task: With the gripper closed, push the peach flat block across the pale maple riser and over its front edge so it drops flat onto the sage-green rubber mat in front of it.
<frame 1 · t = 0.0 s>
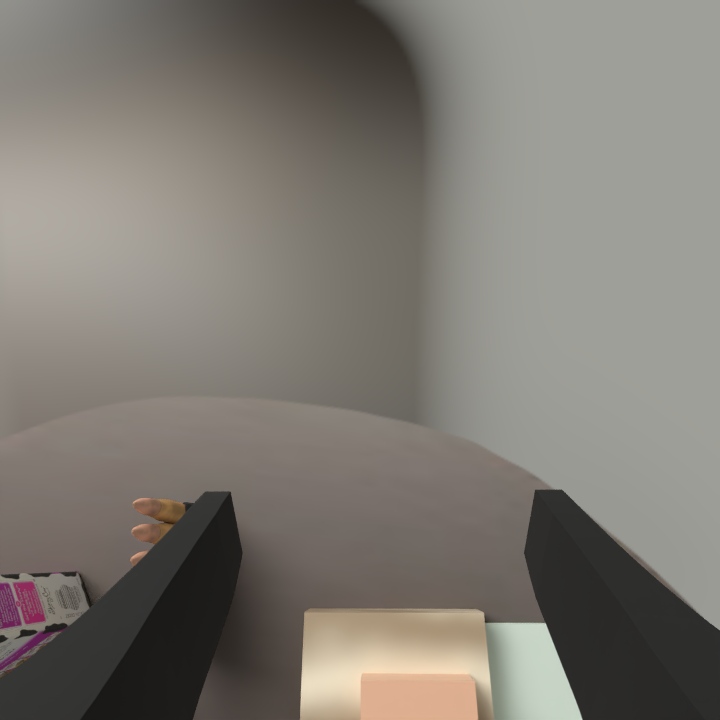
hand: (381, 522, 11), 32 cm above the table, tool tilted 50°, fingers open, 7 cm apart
candy bar box: (28, 633, 39), on the table
ammunition clip: (199, 569, 41), on the table
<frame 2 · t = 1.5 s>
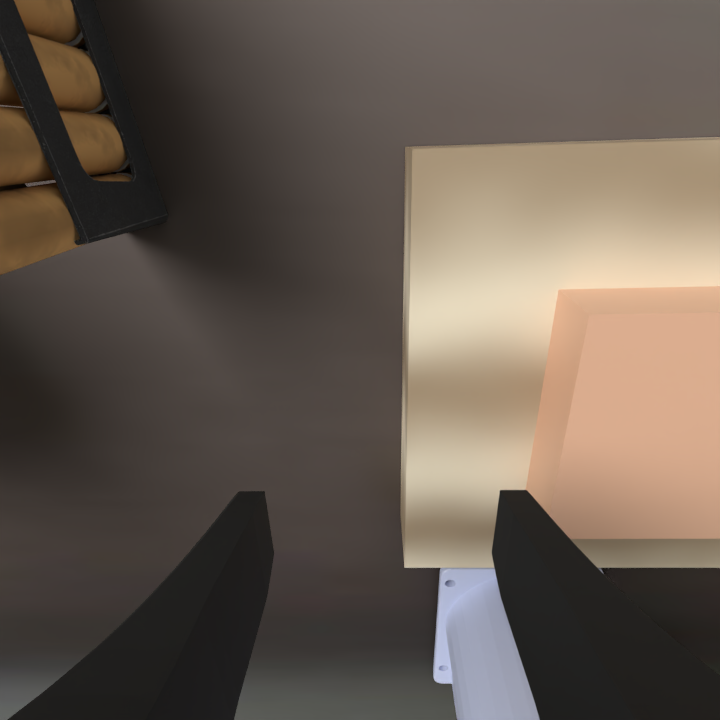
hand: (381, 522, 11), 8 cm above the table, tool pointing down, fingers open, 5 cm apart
riser: (578, 362, 18), on the table
peach flat block: (659, 401, 16), point 3 cm above the table, touching riser
ammunition clip: (84, 50, 14), on the table
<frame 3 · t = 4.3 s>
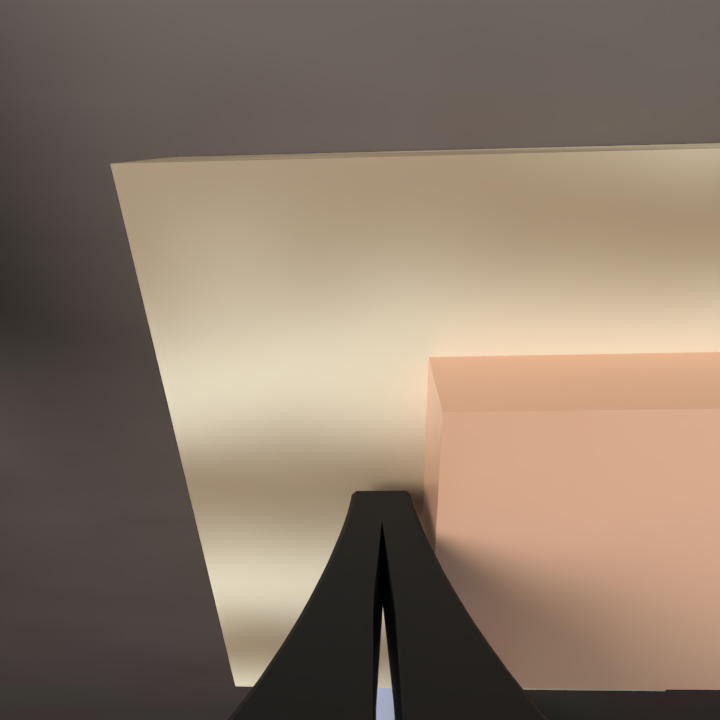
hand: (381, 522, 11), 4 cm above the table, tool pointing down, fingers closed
riser: (448, 432, 14), on the table
peach flat block: (584, 499, 11), point 3 cm above the table, touching gripper
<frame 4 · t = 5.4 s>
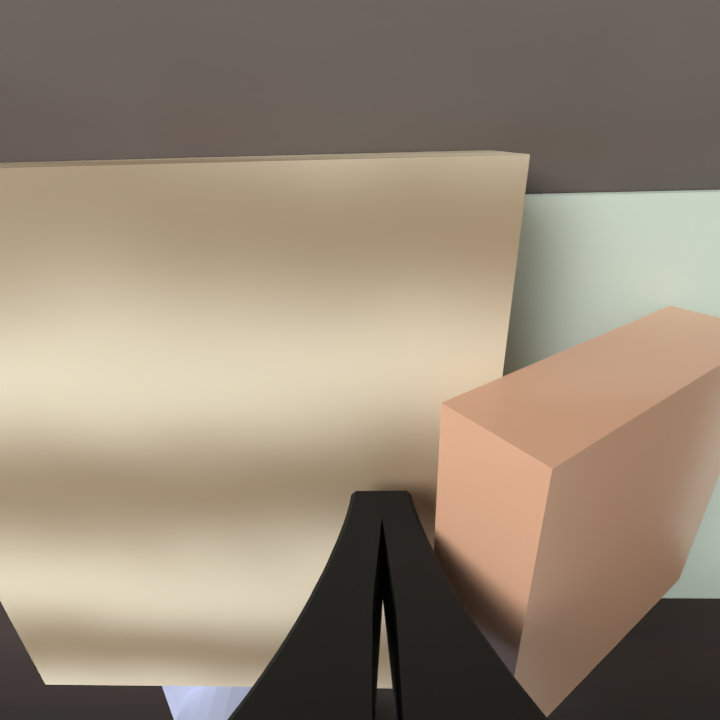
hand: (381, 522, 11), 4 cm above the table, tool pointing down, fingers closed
mat: (678, 431, 14), on the table
riser: (241, 434, 15), on the table
peach flat block: (550, 488, 12), point 3 cm above the table, tilted 36°, touching gripper
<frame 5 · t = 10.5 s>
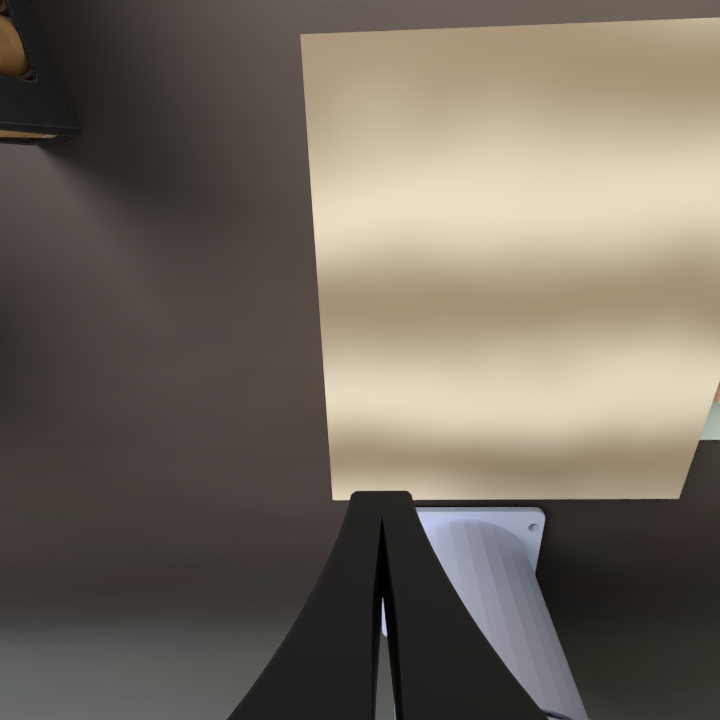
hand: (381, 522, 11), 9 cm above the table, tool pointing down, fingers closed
riser: (505, 288, 18), on the table
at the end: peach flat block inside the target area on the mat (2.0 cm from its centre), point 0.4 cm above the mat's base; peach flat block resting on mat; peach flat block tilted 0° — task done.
